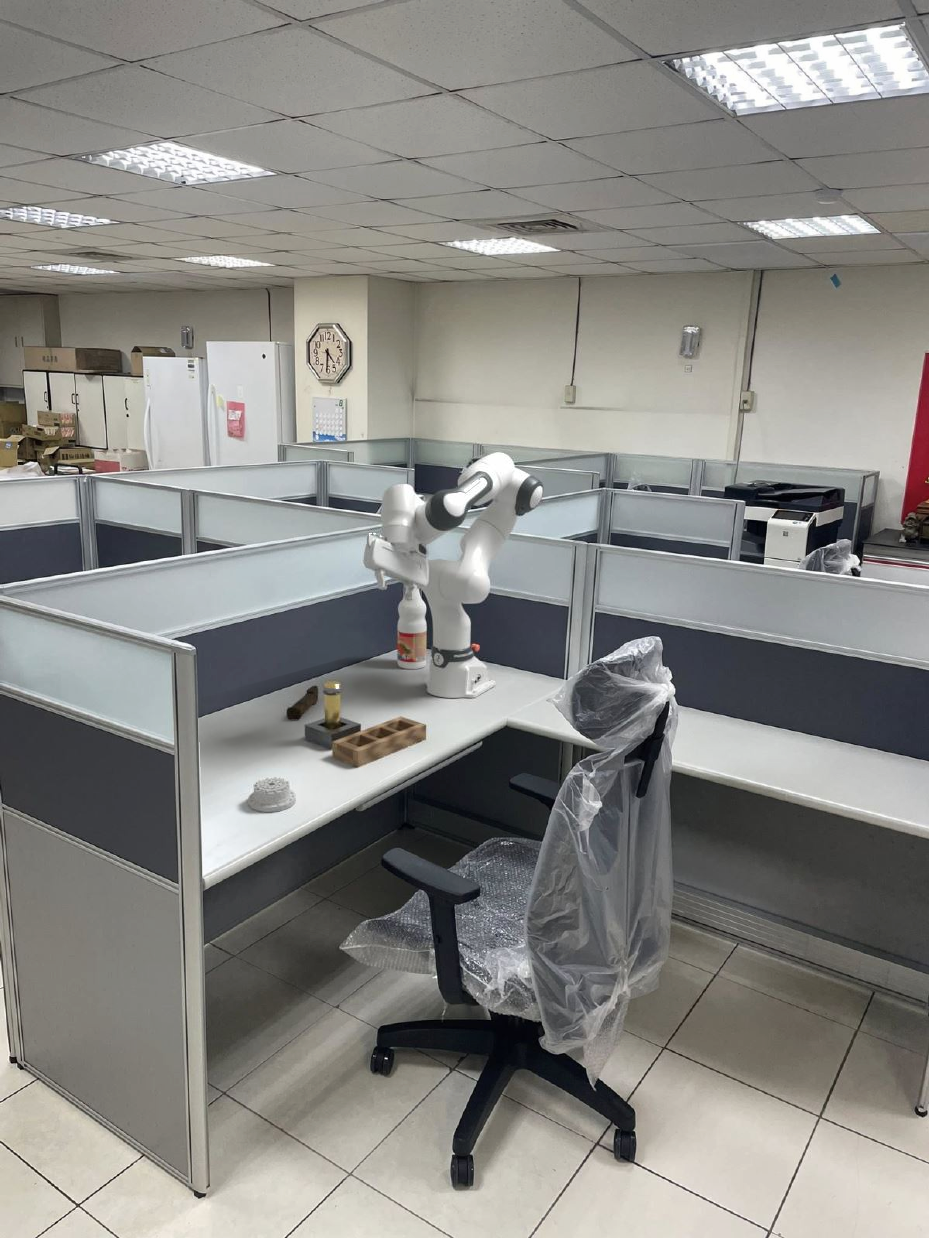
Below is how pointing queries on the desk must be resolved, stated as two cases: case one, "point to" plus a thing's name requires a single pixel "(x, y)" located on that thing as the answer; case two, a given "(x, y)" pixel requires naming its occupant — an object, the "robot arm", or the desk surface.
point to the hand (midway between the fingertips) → (395, 594)
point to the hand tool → (303, 704)
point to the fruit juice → (412, 632)
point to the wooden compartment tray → (378, 741)
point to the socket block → (329, 732)
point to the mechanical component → (271, 795)
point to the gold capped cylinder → (332, 704)
